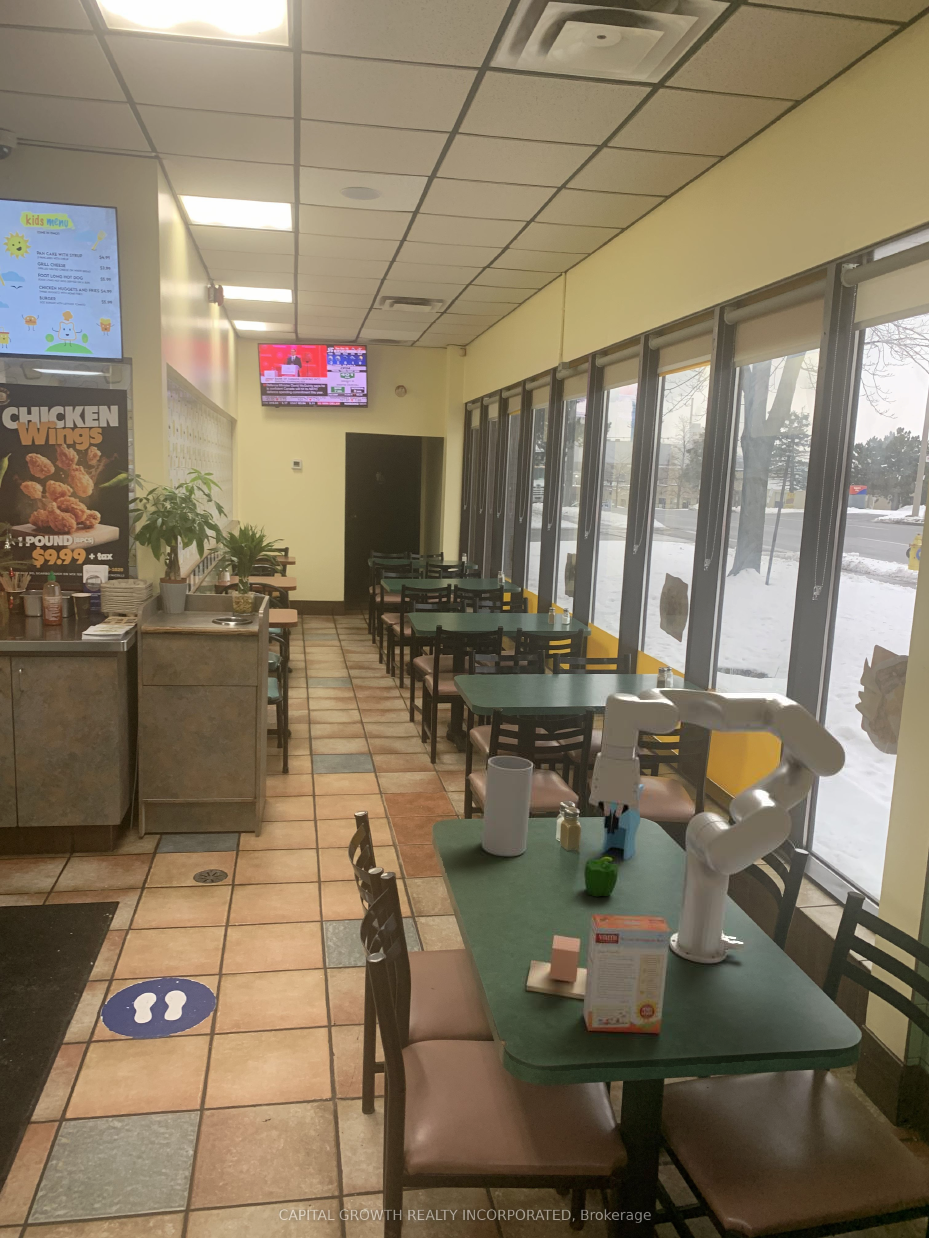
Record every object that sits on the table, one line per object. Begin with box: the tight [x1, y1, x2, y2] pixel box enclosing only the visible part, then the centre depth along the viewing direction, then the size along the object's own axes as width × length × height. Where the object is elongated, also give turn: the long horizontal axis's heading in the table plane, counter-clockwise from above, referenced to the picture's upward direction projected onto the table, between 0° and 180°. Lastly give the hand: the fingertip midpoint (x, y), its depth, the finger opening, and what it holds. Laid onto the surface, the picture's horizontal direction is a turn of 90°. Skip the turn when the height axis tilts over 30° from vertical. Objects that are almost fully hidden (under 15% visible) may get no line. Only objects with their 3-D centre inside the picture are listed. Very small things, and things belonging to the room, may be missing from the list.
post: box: [525, 960, 587, 1000], centre depth 183 cm, size 14×10×8 cm
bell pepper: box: [583, 856, 619, 897], centre depth 226 cm, size 8×8×10 cm
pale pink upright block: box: [550, 934, 581, 982], centre depth 183 cm, size 5×5×7 cm
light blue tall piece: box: [600, 783, 644, 861], centre depth 253 cm, size 8×8×20 cm
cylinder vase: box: [481, 755, 534, 857], centre depth 249 cm, size 12×12×25 cm
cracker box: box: [582, 913, 671, 1034], centre depth 169 cm, size 14×6×21 cm, turn 92°
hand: (610, 831), depth 195 cm, fingers closed
